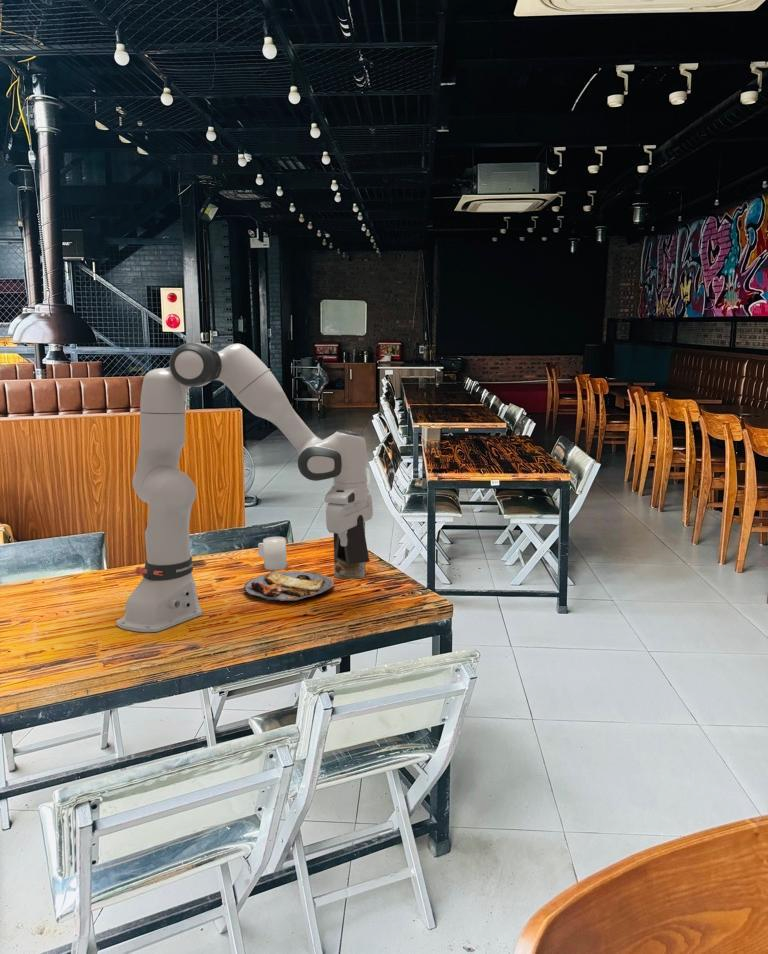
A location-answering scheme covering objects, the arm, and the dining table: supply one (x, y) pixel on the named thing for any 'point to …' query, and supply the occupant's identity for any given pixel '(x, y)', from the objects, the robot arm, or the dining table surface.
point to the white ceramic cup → (273, 553)
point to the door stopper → (353, 545)
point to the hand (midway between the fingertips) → (351, 542)
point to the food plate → (288, 585)
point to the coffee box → (348, 566)
